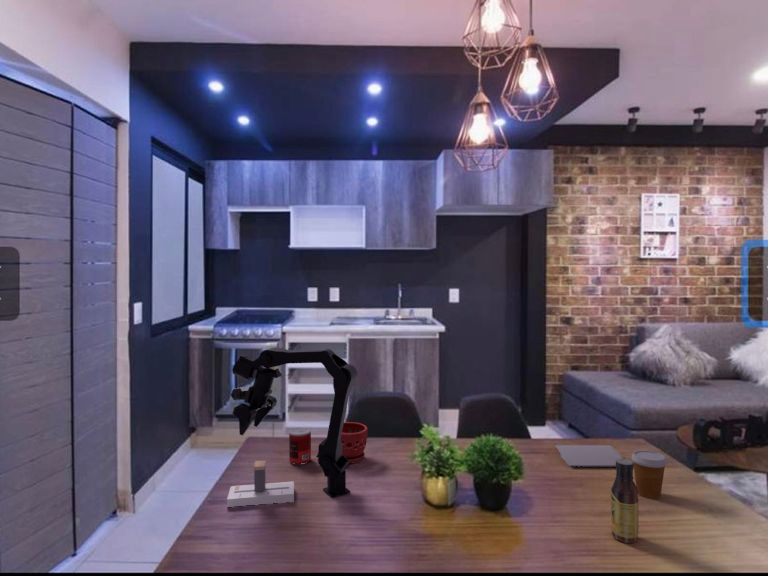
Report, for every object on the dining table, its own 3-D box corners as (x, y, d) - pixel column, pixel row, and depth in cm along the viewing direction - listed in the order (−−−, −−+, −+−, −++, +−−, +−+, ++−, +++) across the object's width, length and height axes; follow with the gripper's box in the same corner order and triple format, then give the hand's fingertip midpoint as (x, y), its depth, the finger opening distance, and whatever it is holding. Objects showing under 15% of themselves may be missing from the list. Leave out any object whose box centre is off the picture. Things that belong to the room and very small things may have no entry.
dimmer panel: (294, 489, 152) (293, 481, 152) (294, 502, 143) (293, 493, 143) (231, 494, 149) (230, 486, 149) (227, 507, 140) (226, 499, 140)
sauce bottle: (614, 529, 127) (614, 453, 127) (640, 537, 123) (641, 459, 123) (607, 539, 122) (607, 461, 122) (634, 548, 118) (635, 467, 118)
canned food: (313, 457, 179) (313, 427, 179) (307, 465, 171) (307, 434, 171) (293, 456, 180) (292, 427, 180) (286, 465, 172) (286, 434, 172)
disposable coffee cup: (630, 497, 146) (631, 457, 146) (631, 485, 154) (631, 447, 154) (667, 504, 141) (667, 463, 141) (665, 491, 150) (666, 452, 150)
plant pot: (325, 464, 173) (325, 430, 173) (339, 451, 186) (339, 420, 185) (360, 468, 169) (360, 433, 169) (372, 455, 182) (372, 423, 182)
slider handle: (266, 484, 149) (265, 460, 148) (265, 491, 144) (264, 466, 144) (255, 485, 148) (255, 461, 148) (254, 492, 143) (253, 467, 143)
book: (550, 454, 183) (550, 443, 183) (611, 454, 183) (611, 443, 183) (564, 470, 168) (564, 458, 168) (631, 470, 168) (631, 458, 168)
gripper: (254, 371, 166) (241, 413, 167) (224, 382, 148) (210, 429, 149) (283, 383, 164) (270, 425, 165) (256, 396, 146) (241, 443, 147)
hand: (248, 430), depth 157 cm, fingers open, 9 cm apart
